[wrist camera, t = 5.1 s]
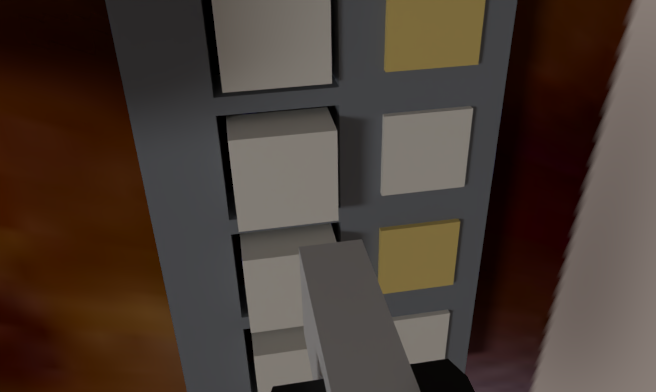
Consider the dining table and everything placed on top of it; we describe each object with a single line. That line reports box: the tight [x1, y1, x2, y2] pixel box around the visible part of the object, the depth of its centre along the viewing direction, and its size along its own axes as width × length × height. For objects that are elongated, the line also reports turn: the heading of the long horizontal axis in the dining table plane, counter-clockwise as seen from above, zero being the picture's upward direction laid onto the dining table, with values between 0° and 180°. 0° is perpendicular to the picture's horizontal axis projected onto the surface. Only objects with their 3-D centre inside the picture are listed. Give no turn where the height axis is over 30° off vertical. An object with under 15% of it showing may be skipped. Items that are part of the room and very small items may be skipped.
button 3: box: [240, 223, 336, 333], centre depth 30 cm, size 4×4×2 cm
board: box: [105, 0, 517, 392], centre depth 30 cm, size 26×16×3 cm, turn 1°
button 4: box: [252, 326, 313, 392], centre depth 33 cm, size 4×4×2 cm
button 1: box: [212, 0, 332, 93], centre depth 24 cm, size 4×4×2 cm
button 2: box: [226, 107, 339, 232], centre depth 26 cm, size 4×4×2 cm
